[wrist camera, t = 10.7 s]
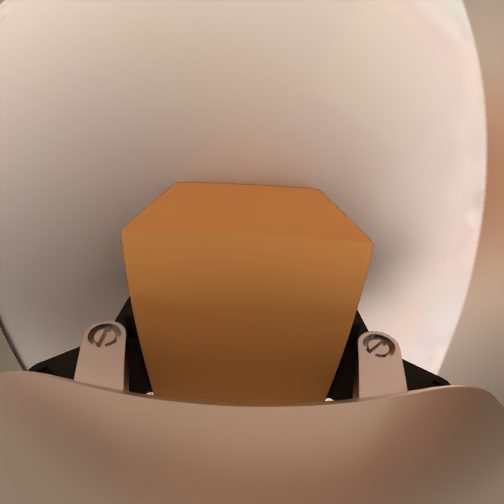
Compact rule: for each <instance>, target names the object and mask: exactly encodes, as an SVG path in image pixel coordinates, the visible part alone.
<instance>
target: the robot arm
mask: <svg viewBox="0 0 504 504" xmlns="http://www.w3.org/2000/svg"><path fill="white" fill-rule="evenodd" d="M148 392H153V390H152V386H151V383H150V380H149V376H148V372H147V369H146V365H145V361H144V357H143V353H142V349H141V345H140V341H139V337H138V332H137V328H136V323H135V319H134V314H133V309H132V304H131V298H130V296H129V298H128V300H127V301H126V303H125V305H124V306H123V308H122V310H121V311H120V313H119V315H118V317H117V318H116V320H115V321H101V322H98V323H95V324H93V325H92V326H90V327H89V328H88V329H87V330H86V331H85V333H84V335H83V339H82V343H81V346H80V347H78V348H75V349H73V350H70V351H68V352H65V353H63V354H60V355H58V356H55V357H53V358H50V359H48V360H45V361H42V362H40V363H37V364H36V365H34V366H32V367H31V368H30V369H29V370H28V371H7V372H1V373H0V504H504V407H503V406H502V405H501V403H500V402H499V401H498V400H497V398H496V397H495V396H494V395H493V394H491V393H490V392H488V391H487V390H484V389H481V388H477V387H472V386H464V385H451V384H450V383H448V381H446V380H445V379H443V378H441V377H439V376H437V375H435V374H433V373H431V372H428V371H426V370H424V369H422V368H420V367H418V366H416V365H414V364H412V363H409V362H407V361H405V360H403V359H402V357H401V352H400V347H399V345H398V343H397V342H396V340H395V339H394V338H392V337H391V336H389V335H387V334H385V333H382V332H378V331H370V332H369V331H368V329H367V327H366V326H365V324H364V322H363V320H362V318H361V316H360V314H359V312H358V310H357V311H356V314H355V318H354V321H353V324H352V327H351V330H350V333H349V337H348V340H347V343H346V346H345V348H344V351H343V354H342V357H341V360H340V363H339V365H338V368H337V371H336V374H335V376H334V379H333V382H332V384H331V387H330V389H329V392H328V394H327V397H326V398H331V399H333V400H334V401H324V402H308V403H277V404H256V403H225V402H209V401H197V400H186V399H177V398H168V397H161V396H153V395H147V394H146V393H148Z"/></svg>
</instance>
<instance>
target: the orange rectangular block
mask: <svg viewBox="0 0 504 504" xmlns="http://www.w3.org/2000/svg"><path fill="white" fill-rule="evenodd" d="M121 238H122V246H123V254H124V261H125V268H126V275H127V281H128V287H129V293H130V298H131V304H132V309H133V314H134V319H135V323H136V328H137V332H138V337H139V341H140V345H141V349H142V353H143V357H144V361H145V365H146V369H147V372H148V376H149V380H150V383H151V386H152V390H153V393H154V396H161V397H168V398H177V399H186V400H197V401H209V402H225V403H256V404H277V403H308V402H324V401H325V399H326V397H327V394H328V392H329V389H330V387H331V384H332V382H333V379H334V376H335V374H336V371H337V368H338V365H339V363H340V360H341V357H342V354H343V351H344V348H345V346H346V343H347V340H348V337H349V333H350V330H351V327H352V324H353V321H354V318H355V314H356V311H357V307H358V304H359V301H360V297H361V293H362V290H363V286H364V282H365V279H366V275H367V271H368V267H369V263H370V258H371V254H372V250H373V245H374V242H373V241H372V240H371V239H370V238H369V237H368V236H367V235H366V234H365V233H364V232H363V231H362V230H361V229H360V228H359V227H358V226H356V225H355V224H354V223H353V222H352V221H351V220H350V219H349V218H348V217H347V216H346V215H345V214H344V213H343V212H342V211H341V210H340V209H339V208H338V207H337V206H335V205H334V204H333V203H332V202H331V201H330V200H329V199H328V198H327V197H326V196H325V195H324V194H322V193H321V192H320V191H319V190H318V189H309V188H297V187H283V186H269V185H251V184H229V183H194V182H177V183H176V184H174V185H173V186H172V187H171V188H169V189H168V190H167V191H166V192H165V193H163V194H162V195H161V196H160V197H159V198H157V199H156V200H155V201H154V202H153V203H152V204H150V205H149V206H148V207H147V208H146V209H145V210H144V211H142V212H141V213H140V214H139V215H138V216H137V217H136V218H134V219H133V220H132V221H131V222H130V223H129V224H128V225H127V226H126V227H125V228H123V229H122V230H121Z"/></svg>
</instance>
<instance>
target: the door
mask: <svg viewBox="0 0 504 504" xmlns="http://www.w3.org/2000/svg"><path fill="white" fill-rule="evenodd" d="M7 371H23V369H22V367H21V366H20V364H19V362H18V360H17V359H16V357H15V355H14V353H13V351H12V350H11V348H10V346H9V344H8V342H7V340H6V338H5V336H4V334H3V332H2V330H1V328H0V373H1V372H7Z"/></svg>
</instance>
